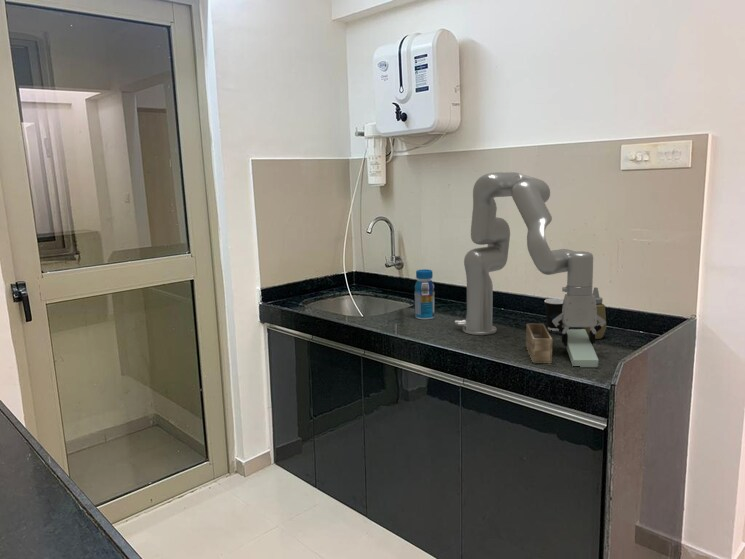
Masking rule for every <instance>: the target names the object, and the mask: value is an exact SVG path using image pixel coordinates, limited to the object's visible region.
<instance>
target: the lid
mask: <svg viewBox="0 0 745 559" xmlns="http://www.w3.org/2000/svg"><path fill="white" fill-rule="evenodd" d="M567 334H568V343H567V346H565V348H566V351H567V353H568V357H569V360H570V362H571V365H572V367H573V366H580V367H579V368H599V361H600V360H599V358H598V355H597V353H596V351H595V348H594V345H593V346H592V344H591V342H590V340H589V337H588V335H587V332H586V330H585V329H583V328H580V329H579V328H577V329H576V328H570V329H568V330H567Z"/></svg>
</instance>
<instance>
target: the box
mask: <svg viewBox="0 0 745 559" xmlns="http://www.w3.org/2000/svg"><path fill="white" fill-rule="evenodd" d="M525 327H526V329H525V348H526V347H527V348H526V350H528V351H527V354H528V356H529V355H530V356H529V359H530V358H531V359H530V361H531V360H532V361H531V363H532V362H544V363H552V364H553V338H552V335H551V334H550V333H549V330H548V327H547V326H546V325H545V323H526V325H525Z"/></svg>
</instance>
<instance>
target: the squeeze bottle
mask: <svg viewBox="0 0 745 559" xmlns="http://www.w3.org/2000/svg"><path fill="white" fill-rule="evenodd" d="M592 294H593V295H595V299H596V308H597V315H599V316H600V317H601V318H602V319H604V320H605V321H606V323H605V324H604V325H603V327H601V329H600V330H599V331H598V332H597V333H596V334H595V340H599V339H602V338H604V335H605V333H606V330H607V317H606V305H605V304H604V303H603V297H601V296H600V293H599V288H598V287H593V289H592ZM597 324H599V321H598V320H597ZM594 327H595V326H594ZM581 329H585V330H586V332H587V335H588V337H589V333H590V331H591V330H590V328H589V327H581Z"/></svg>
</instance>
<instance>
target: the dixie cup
mask: <svg viewBox="0 0 745 559" xmlns="http://www.w3.org/2000/svg"><path fill="white" fill-rule="evenodd" d="M563 301H564V299H559V298H547V299H545V300H544V306H545V317H546V328H547V330H548V331H551V330H552V331H551V332H560V331H559V329H558V328H557V327H556V326H555V325H554V324H553V322H552V320H553V319H555V318H556V317H557V316H559V315H560V314H561V313H562V308H563ZM558 323H559V325H560V326H561V327H563V325H564V324H563V322H562V319H561V320H560V321H559V322H558Z"/></svg>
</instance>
